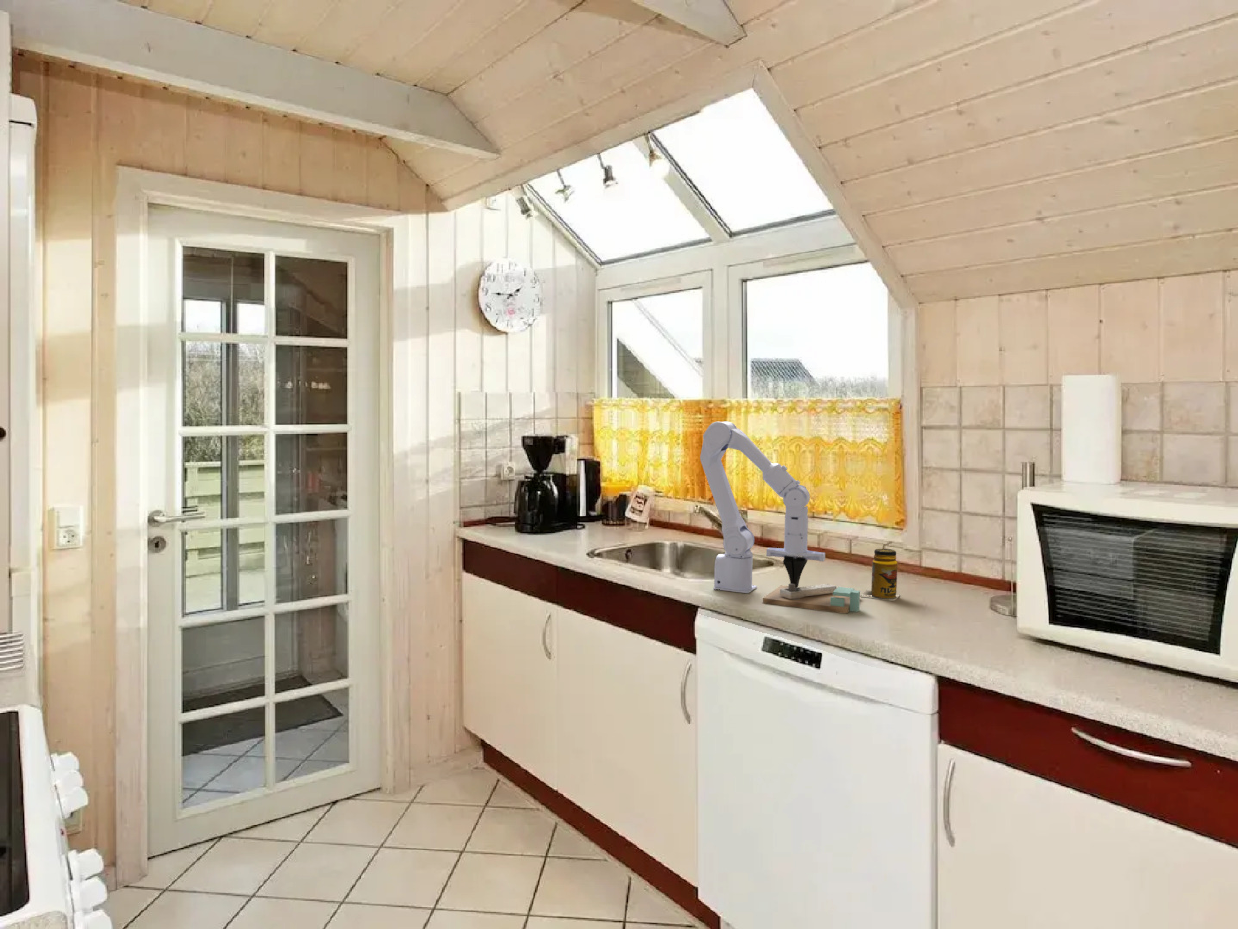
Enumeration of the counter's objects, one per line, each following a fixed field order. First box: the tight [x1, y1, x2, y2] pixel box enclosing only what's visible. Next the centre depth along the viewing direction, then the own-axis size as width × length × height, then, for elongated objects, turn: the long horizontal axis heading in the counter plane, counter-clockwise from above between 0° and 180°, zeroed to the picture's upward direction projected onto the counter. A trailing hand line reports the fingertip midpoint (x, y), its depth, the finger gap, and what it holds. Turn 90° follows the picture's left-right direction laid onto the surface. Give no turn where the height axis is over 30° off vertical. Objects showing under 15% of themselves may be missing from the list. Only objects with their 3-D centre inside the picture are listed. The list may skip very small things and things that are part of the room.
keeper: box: [830, 586, 861, 613], centre depth 185 cm, size 6×6×4 cm
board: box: [762, 583, 850, 614], centre depth 193 cm, size 20×16×4 cm
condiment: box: [860, 548, 900, 602], centre depth 199 cm, size 7×8×12 cm
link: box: [780, 583, 837, 599], centre depth 194 cm, size 15×4×2 cm, turn 118°
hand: (794, 586), depth 199 cm, fingers closed
